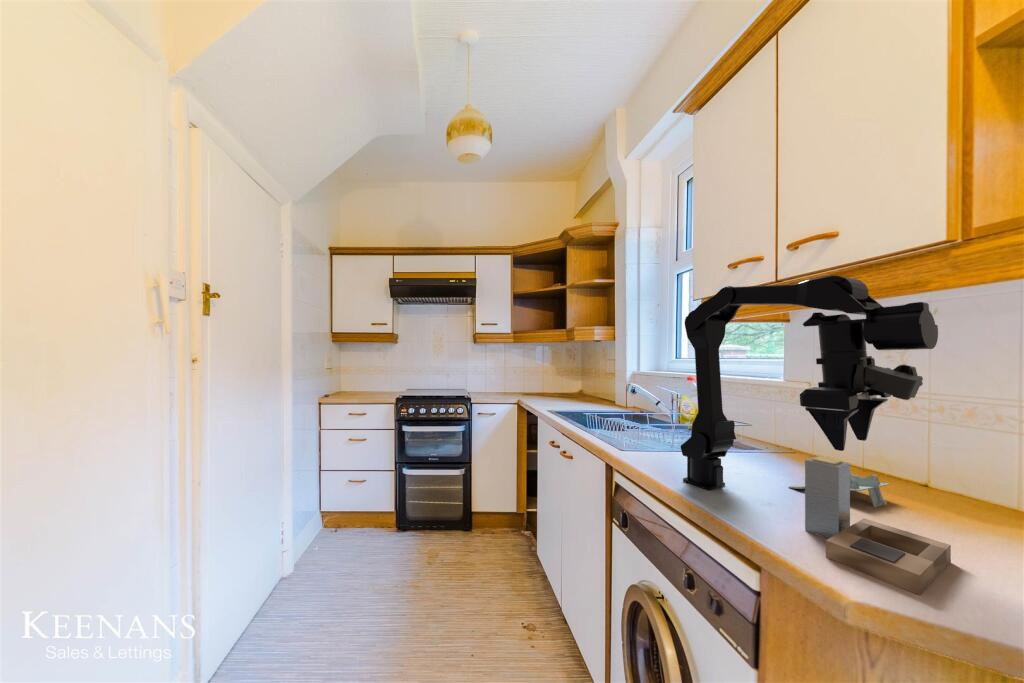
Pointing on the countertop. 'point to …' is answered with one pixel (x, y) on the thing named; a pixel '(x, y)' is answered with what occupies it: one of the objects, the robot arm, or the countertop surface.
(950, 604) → the countertop surface
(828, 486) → the grey tall block
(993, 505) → the countertop surface
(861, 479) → the metal bracket
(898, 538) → the plate with square hole
